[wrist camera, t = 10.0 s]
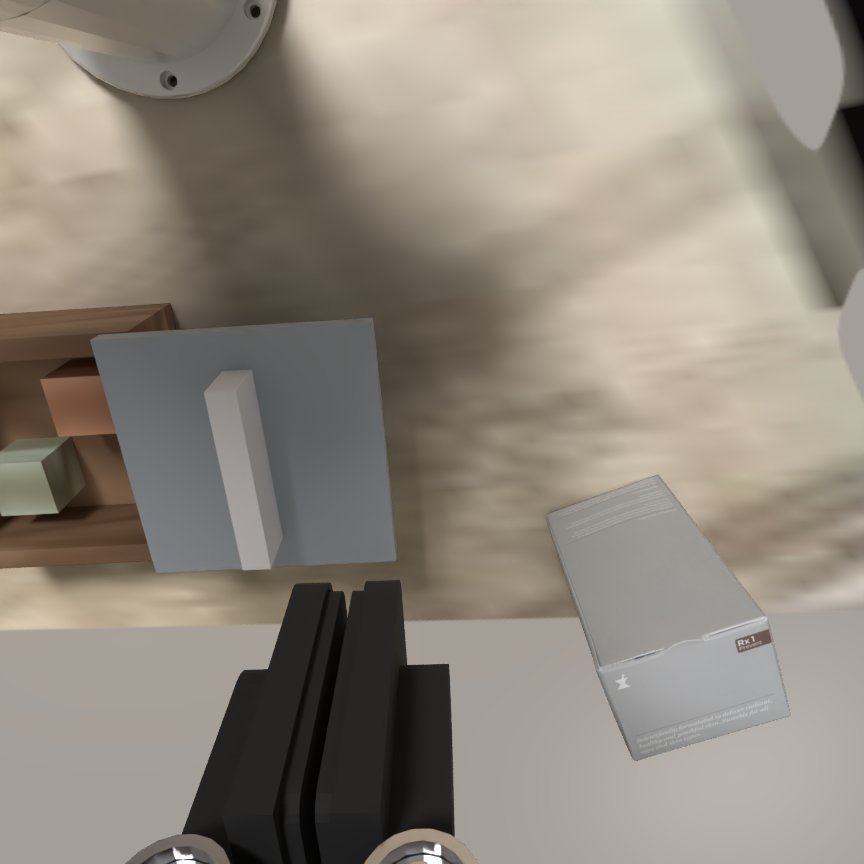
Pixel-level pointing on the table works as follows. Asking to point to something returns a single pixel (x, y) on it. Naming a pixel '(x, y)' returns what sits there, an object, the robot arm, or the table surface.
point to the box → (65, 441)
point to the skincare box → (666, 621)
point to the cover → (253, 443)
